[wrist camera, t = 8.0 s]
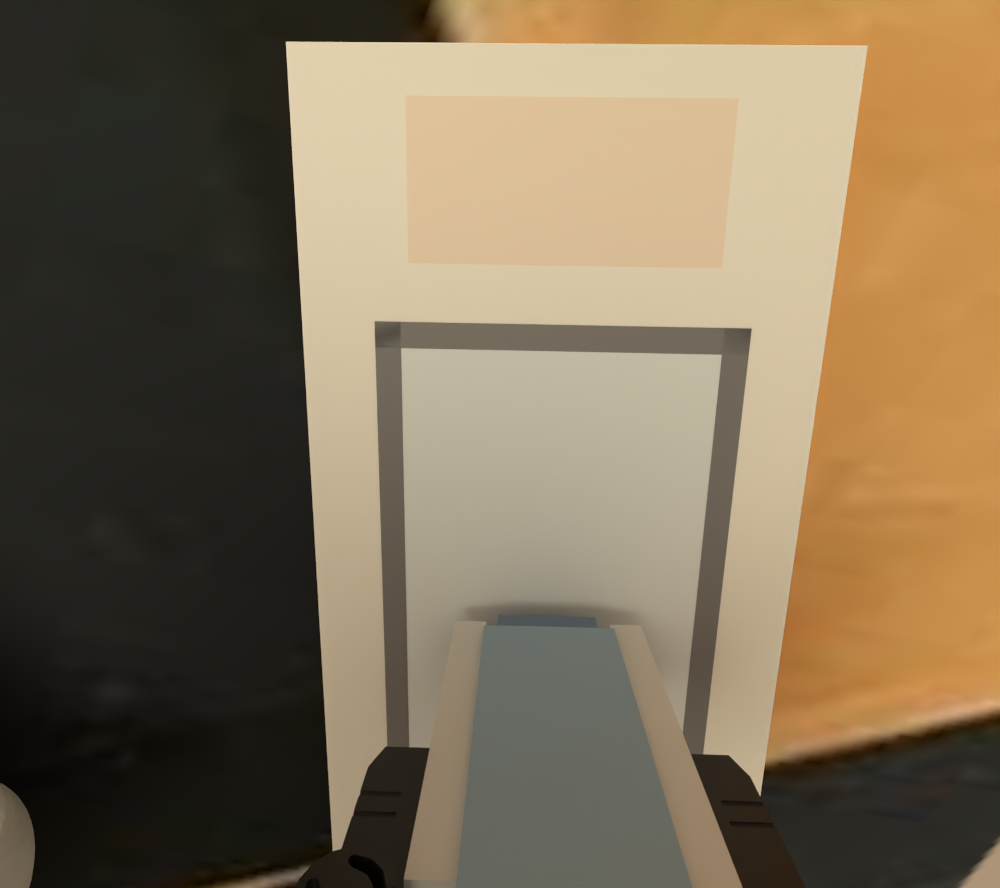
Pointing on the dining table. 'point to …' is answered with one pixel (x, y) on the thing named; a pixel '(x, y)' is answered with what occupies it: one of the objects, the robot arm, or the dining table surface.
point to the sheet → (561, 358)
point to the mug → (15, 841)
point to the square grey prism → (562, 766)
